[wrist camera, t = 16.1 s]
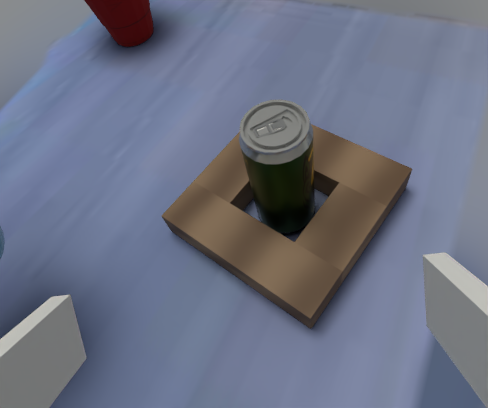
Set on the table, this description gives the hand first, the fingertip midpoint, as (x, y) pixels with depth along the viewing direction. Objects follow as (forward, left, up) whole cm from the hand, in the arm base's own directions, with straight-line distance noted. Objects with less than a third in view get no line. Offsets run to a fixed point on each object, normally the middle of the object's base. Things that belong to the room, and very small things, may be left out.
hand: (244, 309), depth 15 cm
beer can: (-8, +12, -19) cm, 24 cm away
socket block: (-8, +12, -18) cm, 24 cm away
